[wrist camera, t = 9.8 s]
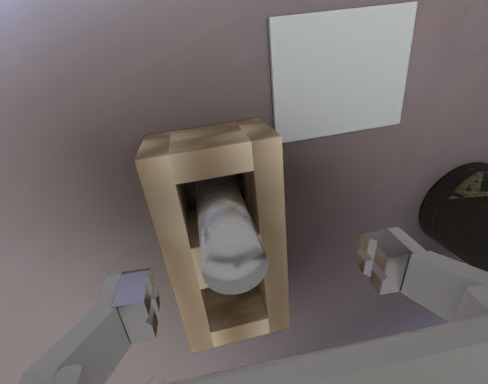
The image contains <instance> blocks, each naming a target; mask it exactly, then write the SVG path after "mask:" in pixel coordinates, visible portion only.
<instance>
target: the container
mask: <svg viewBox="0 0 488 384" xmlns="http://www.w3.org/2000/svg"><path fill="white" fill-rule="evenodd" d="M420 222H421V226H422V229H423V230H424V232H425V233H426V234H427V235H429V236H430V237H431V238H433V239H434V240H435V241H437V242H438V243H440V244H441V245H442V246H443V247H445V248H446V249H448V250H449V251H451V252H452V253H454V254H455V255H457V256H458V257H459V258H461V259H462V260H464V261H465V262H467V263H468V264H470V265H471V266H473V267H476V268H478V269H481V270H484V271H486V272H488V164H486V163H475V164H470V165H466V166H463V167H460V168H458V169H456V170H454V171H453V172H451V173H450V174H448V175H447V176H445V177H444V178H443V179H442V180H441V181H439V182H438V183H437V184H436V185H435V186H434V188H433V189H432V190H431V191H430V193H429V194H428V196H427V197H426V199H425V201H424V204H423V207H422V210H421V215H420Z"/></svg>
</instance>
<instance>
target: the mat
mask: <svg viewBox="0 0 488 384" xmlns="http://www.w3.org/2000/svg"><path fill="white" fill-rule="evenodd" d="M417 2H418V1H417ZM417 2H407V3H398V4H389V5H379V6H370V7H361V8H351V9H342V10H333V11H323V12H314V13H305V14H295V15H286V16H277V17H269V18H268V33H269V50H270V68H271V86H272V103H273V121H274V130H275V131H276V132H277V133H278V134H280V135H281V136H282V143H286V142H292V141H298V140H304V139H310V138H316V137H322V136H328V135H334V134H340V133H346V132H352V131H358V130H364V129H370V128H376V127H382V126H388V125H394V124H400V118H401V111H402V104H403V98H404V91H405V84H406V77H407V70H408V64H409V57H410V50H411V43H412V36H413V30H414V23H415V16H416V9H417Z"/></svg>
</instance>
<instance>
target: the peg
mask: <svg viewBox="0 0 488 384" xmlns="http://www.w3.org/2000/svg"><path fill="white" fill-rule="evenodd" d="M194 186H195V197H196V208H197V219H198V230H199V241H200V252H201V263H202V274H203V279H204V281H205V283H206V284H207V286H208V287H209V288H211V289H212V290H214V291H216V292H218V293H221V294H227V295H234V294H240V293H244V292H246V291H249V290H251V289H252V288H254V287H255V286H257V285H258V284H259V283H260V282H261V281H262V280H263V278H264V277H265V275H266V273H267V270H268V259H267V256H266V254H265V251H264V249H263V247H262V244H261V242H260V239H259V237H258V234H257V232H256V230H255V227H254V225H253V222H252V220H251V217H250V215H249V213H248V210H247V208H246V205H245V203H244V200H243V198H242V196H241V193H240V191H239V188H238V186H237V183H236V181H235V178H234V176H233V175H227V176H222V177H216V178H210V179H205V180H199V181H194Z"/></svg>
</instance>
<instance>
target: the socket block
mask: <svg viewBox="0 0 488 384" xmlns="http://www.w3.org/2000/svg"><path fill="white" fill-rule="evenodd" d="M134 162H135V165H136V168H137V172H138V175H139V178H140V182H141V185H142V188H143V192H144V195H145V198H146V202H147V205H148V208H149V212H150V215H151V218H152V222H153V225H154V228H155V232H156V235H157V238H158V242H159V245H160V248H161V252H162V255H163V258H164V262H165V265H166V268H167V272H168V275H169V278H170V282H171V285H172V288H173V292H174V295H175V298H176V302H177V305H178V308H179V312H180V315H181V318H182V322H183V325H184V328H185V332H186V335H187V338H188V342H189V345H190V348H191V351H192V353H194V352H198V351H202V350H206V349H210V348H214V347H218V346H222V345H226V344H229V343H233V342H237V341H241V340H245V339H249V338H253V337H257V336H261V335H265V334H268V333H272V332H276V331H280V330H284V329H288V328H290V308H289V286H288V263H287V241H286V218H285V196H284V173H283V151H282V136H281V135H280V134H278V133H277V132H276V131H275V130H274V129H272V128H271V127H270V126H269V125H268V124H266V123H265V122H264V121H263V120H262V119H261V118H255V119H248V120H242V121H235V122H229V123H222V124H216V125H209V126H203V127H196V128H190V129H183V130H177V131H170V132H164V133H157V134H151V135H144V138H143V140H142V143H141V145H140V148H139V150H138V153H137V155H136V157H135V160H134ZM238 173H242V181H243V189H244V198H245V199H243V200H244V203H245V205H246V208H247V210H248V213H249V215H250V217H251V220H252V222H253V225H254V227H255V230H256V232H257V234H258V237H259V239H260V242H261V244H262V247H263V249H264V251H265V254H266V256H267V259H268V270H267V273H266V275H265V277H264V278H263V280H262V281H261V282H260V283H259V284H258V285H257V286H255V287H254V288H252V289H251V290H249V291H246V292H244V293H240V294H234V295H227V294H221V293H218V292H216V291H214V290H212V289H211V288H209V287H208V286H207V284H206V283H205V281H204V279H203V274H202V263H201V252H200V241H199V230H198V219H197V208H196V209H191V210H188V206H187V201H186V197H185V192H184V188H183V184H182V183H188V182H194V181H199V180H205V179H210V178H216V177H222V176H227V175H233V174H238Z"/></svg>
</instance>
